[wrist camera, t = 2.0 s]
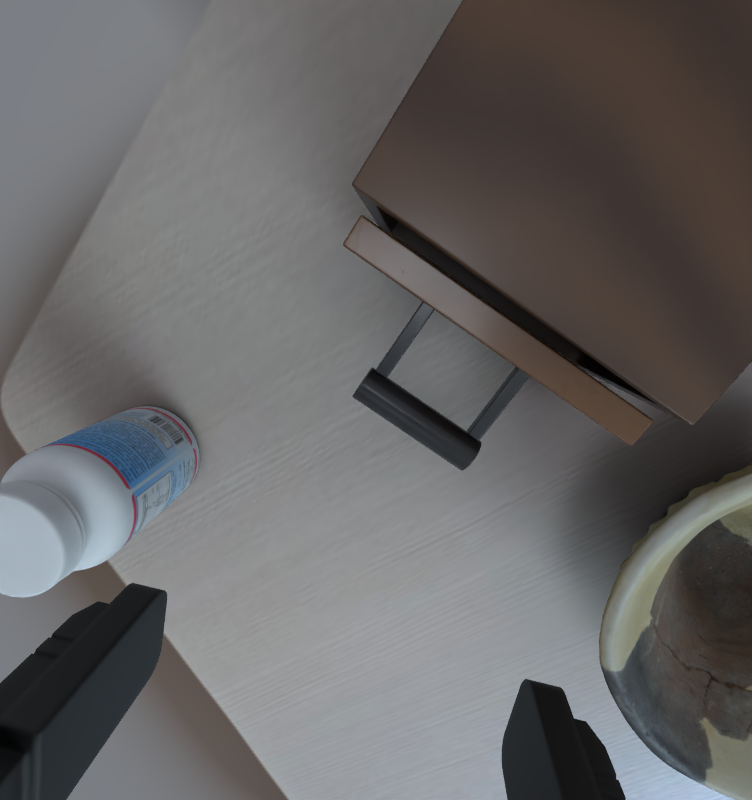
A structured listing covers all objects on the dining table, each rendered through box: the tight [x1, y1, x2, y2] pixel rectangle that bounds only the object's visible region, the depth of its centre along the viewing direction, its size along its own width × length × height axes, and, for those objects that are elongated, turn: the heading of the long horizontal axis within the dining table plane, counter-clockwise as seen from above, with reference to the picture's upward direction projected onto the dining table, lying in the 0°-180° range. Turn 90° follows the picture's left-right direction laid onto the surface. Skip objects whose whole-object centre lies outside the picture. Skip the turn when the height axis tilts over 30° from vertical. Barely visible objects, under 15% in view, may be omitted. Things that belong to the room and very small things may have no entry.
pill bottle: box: [0, 406, 200, 597], centre depth 25 cm, size 6×6×11 cm
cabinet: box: [352, 0, 752, 426], centre depth 19 cm, size 17×14×11 cm
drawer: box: [343, 215, 653, 470], centre depth 20 cm, size 21×13×9 cm, turn 146°
